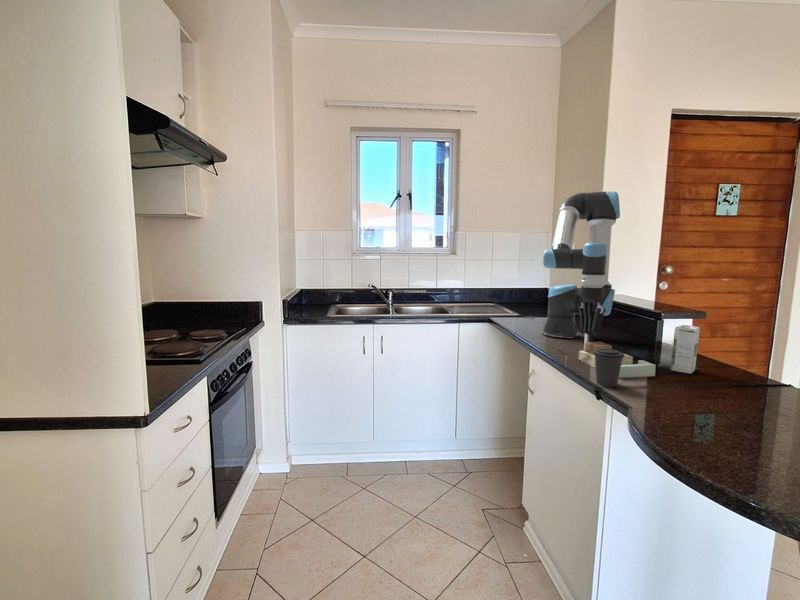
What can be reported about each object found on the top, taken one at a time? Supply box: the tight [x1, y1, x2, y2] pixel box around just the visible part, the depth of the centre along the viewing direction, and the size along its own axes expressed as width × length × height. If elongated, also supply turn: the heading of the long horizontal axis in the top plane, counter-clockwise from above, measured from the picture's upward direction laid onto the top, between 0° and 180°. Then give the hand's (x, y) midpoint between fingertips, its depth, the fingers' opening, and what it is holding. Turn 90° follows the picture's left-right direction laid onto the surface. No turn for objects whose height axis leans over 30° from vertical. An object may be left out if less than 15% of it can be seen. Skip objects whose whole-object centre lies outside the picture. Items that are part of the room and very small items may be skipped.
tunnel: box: [578, 348, 634, 369], centre depth 136 cm, size 10×13×4 cm
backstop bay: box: [618, 359, 657, 379], centre depth 124 cm, size 6×13×4 cm, turn 99°
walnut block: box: [585, 341, 613, 355], centre depth 140 cm, size 6×6×6 cm
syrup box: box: [670, 324, 701, 375], centre depth 127 cm, size 6×6×14 cm
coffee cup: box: [593, 348, 625, 388], centre depth 115 cm, size 8×8×10 cm
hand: (588, 351), depth 144 cm, fingers closed
